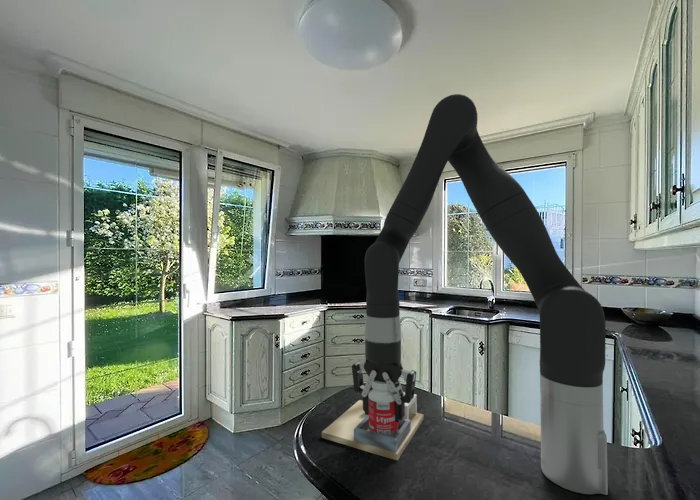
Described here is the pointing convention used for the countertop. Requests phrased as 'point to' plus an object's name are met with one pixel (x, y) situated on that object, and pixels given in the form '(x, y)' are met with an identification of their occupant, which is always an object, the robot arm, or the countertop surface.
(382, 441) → the base board
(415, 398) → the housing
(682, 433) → the countertop surface
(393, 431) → the pill bottle
